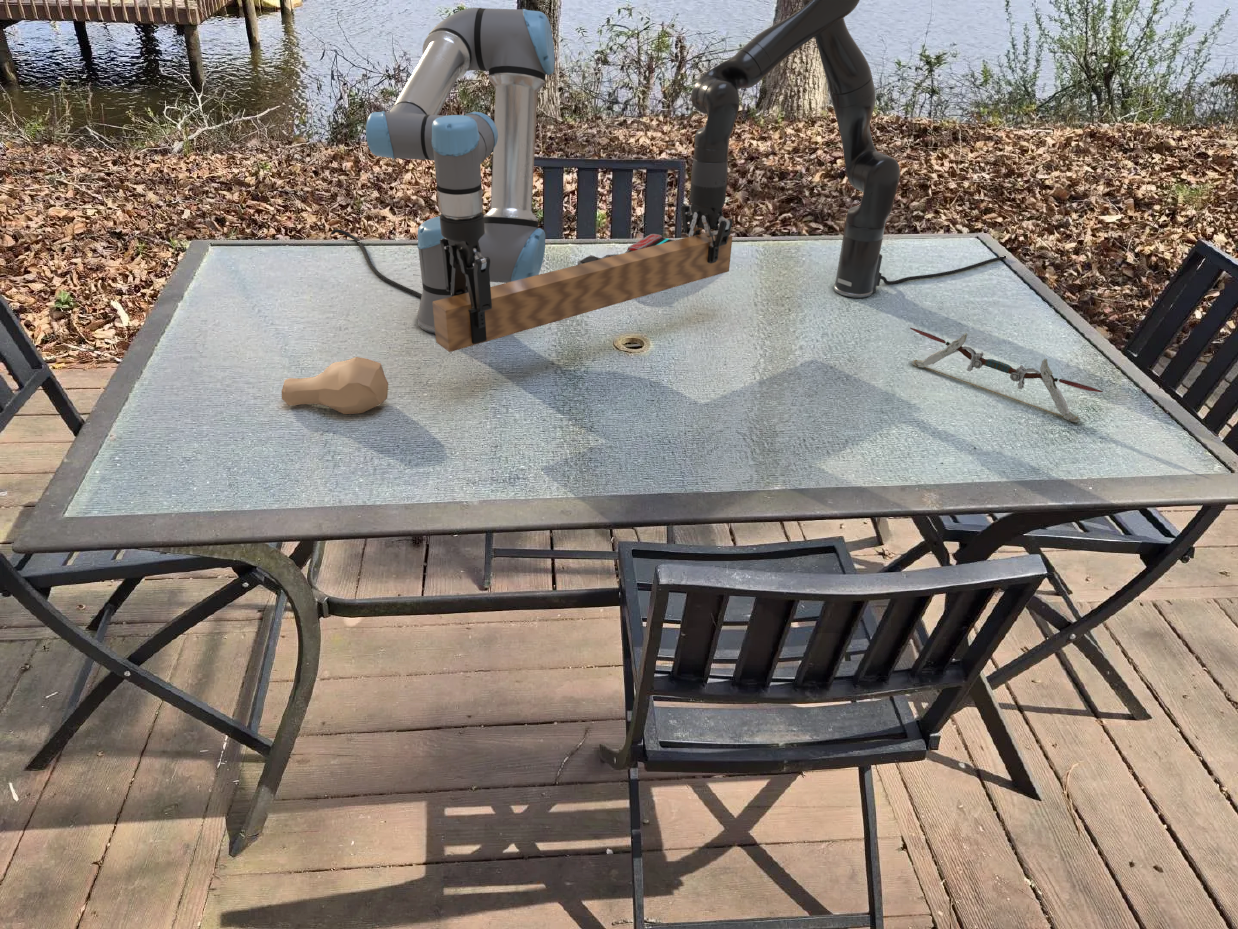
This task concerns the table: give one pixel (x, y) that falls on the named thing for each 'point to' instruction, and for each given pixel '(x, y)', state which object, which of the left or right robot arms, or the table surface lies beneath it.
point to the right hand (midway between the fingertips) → (703, 258)
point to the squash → (341, 387)
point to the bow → (1015, 375)
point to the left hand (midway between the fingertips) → (471, 335)
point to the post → (579, 289)
